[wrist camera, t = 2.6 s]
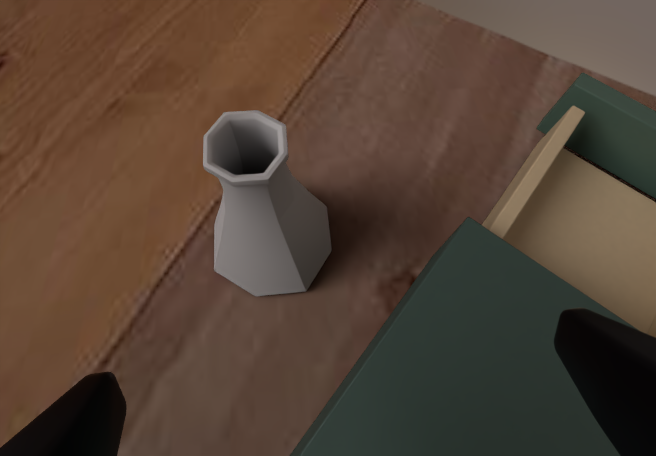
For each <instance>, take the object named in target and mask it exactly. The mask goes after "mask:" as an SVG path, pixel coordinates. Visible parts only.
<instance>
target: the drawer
mask: <svg viewBox="0 0 656 456" xmlns="http://www.w3.org/2000/svg"><path fill="white" fill-rule="evenodd" d="M537 129H538V130H539V131H541V132H543V133H544V134H546V135H545V136H544V137H543V138H542V139H541V140H540V141H539V143H538V144H537V145H536V147H535V148H534V150H533V151H532V152H531V154H530V155H529V157H528V158H527V160H526V161H525V163H524V164H523V166H522V167H521V169H520V170H519V171H518V173H517V174H516V176H515V177H514V179H513V180H512V182H511V183H510V185H509V186H508V187H507V189H506V190H505V192H504V193H503V195H502V196H501V198H500V199H499V201H498V202H497V203H496V205H495V206H494V208H493V209H492V211H491V212H490V214H489V215H488V217H487V218H486V220H485V221H484V222H483V224H482V226H483V227H485V228H486V229H488V230H489V231H491V232H492V233H494V234H495V235H497V236H498V237H500V238H501V239H503V240H504V241H506V242H507V243H509V244H510V245H512V246H513V247H515V248H516V249H518V250H519V251H521V252H522V253H524V254H525V255H527V256H528V257H530V258H531V259H533V260H534V261H536V262H537V263H539V264H540V265H542V266H543V267H545V268H546V269H548V270H549V271H551V272H552V273H554V274H555V275H557V276H558V277H560V278H561V279H563V280H564V281H566V282H567V283H569V284H570V285H572V286H573V287H575V288H576V289H578V290H579V291H581V292H582V293H584V294H585V295H587V296H588V297H590V298H591V299H593V300H594V301H596V302H597V303H599V304H600V305H602V306H603V307H605V308H606V309H608V310H609V311H611V312H612V313H614V314H615V315H617V316H618V317H620V318H621V319H623V320H624V321H626V322H627V323H629V324H630V325H632V326H633V327H635V328H636V329H638V330H639V331H641V332H644V333H646V334H648V335H651V336H653V337H656V202H654V201H652V200H651V199H649V198H647V197H646V196H644V195H642V194H641V193H639V192H637V191H635V190H634V189H632V188H630V187H629V186H627V185H625V184H624V183H622V182H620V181H618V180H617V179H615V178H613V177H612V176H610V175H608V174H607V173H605V172H603V171H601V170H600V169H598V168H596V167H595V166H593V165H591V164H590V163H588V162H586V161H584V160H583V159H581V158H579V157H578V156H576V155H574V154H573V153H571V152H569V151H567V150H566V149H564V148H563V147H564V145H565V146H566V147H568V148H570V149H572V150H573V151H575V152H577V153H578V154H580V155H582V156H584V157H585V158H587V159H589V160H590V161H592V162H594V163H595V164H597V165H599V166H601V167H602V168H604V169H606V170H607V171H609V172H611V173H613V174H614V175H616V176H618V177H619V178H621V179H623V180H624V181H626V182H628V183H630V184H631V185H633V186H635V187H636V188H638V189H640V190H641V191H643V192H645V193H647V194H648V195H650V196H652V197H653V198H655V199H656V111H654V110H652V109H650V108H648V107H646V106H645V105H643V104H641V103H639V102H637V101H635V100H633V99H632V98H630V97H628V96H626V95H624V94H622V93H620V92H619V91H617V90H615V89H613V88H611V87H609V86H607V85H605V84H604V83H602V82H600V81H598V80H596V79H594V78H592V77H591V76H589V75H587V74H585V73H581V74H580V76H579V77H578V78H577V79H576V80H575V81H574V83H573V84H572V85H571V86H570V87H569V89H568V90H567V91H566V92H565V93H564V94H563V96H562V97H561V98H560V99H559V100H558V101H557V103H556V104H555V105H554V106H553V107H552V108H551V110H550V111H549V112H548V113H547V114H546V116H545V117H544V118H543V119H542V121H541V122H540V124H539V125H538V126H537Z"/></svg>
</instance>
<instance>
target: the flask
mask: <svg viewBox="0 0 656 456" xmlns="http://www.w3.org/2000/svg"><path fill="white" fill-rule="evenodd" d="M287 160H288V145H287V132H286V125H285V124H283V123H281V122H279V121H277V120H275V119H273V118H271V117H270V116H268V115H266V114H264V113H262V112H260V111H258V110H254V111H239V112H224V113H223V115H222V116H221V117H220V118H219V119H218V120H217V121H216V123H215V124H214V125H213V126H212V127H211V128H210V129H209V131H208V132H207V133H206V134H205V135H204V147H203V166H204V169H205V170H206V171H207V172H209V173H211V174H213V175H214V176H216V177H218V178H219V180H220V183H221V185H222V187H223V197H222V201H221V206H220V209H219V212H218V215H217V217H216V221H215V225H214V271H216V272H217V273H219V274H220V275H222V276H224V277H225V278H227V279H228V280H230V281H232V282H233V283H235V284H236V285H238V286H240V287H241V288H243V289H244V290H246V291H248V292H249V293H251V294H252V295H254V296H264V295H274V294H285V293H295V292H305V291H307V289H308V288H309V286H310V284H311V283H312V281H313V280H314V278H315V277H316V275H317V273H318V272H319V270H320V269H321V267H322V265H323V264H324V262H325V261H326V259H327V257H328V256H329V254H330V253H331V251H332V248H331V239H330V230H329V222H328V213H327V207H326V206H325V205H324V204H323V203H322V202H321V201H320V200H318V199H317V198H316V197H315V196H314V195H312V194H311V193H310V192H309V191H308V190H307V189H306V188H305V187H304V186H303V185H302V184H301V183H300V182H298V181H297V180H296V179H295V178H294V177H293V176H292V174H291V172H290V170H289V168H288V166H287V164H286V161H287Z"/></svg>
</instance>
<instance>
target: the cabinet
mask: <svg viewBox="0 0 656 456" xmlns="http://www.w3.org/2000/svg"><path fill="white" fill-rule="evenodd" d="M573 308H586V309H589V310H591V311H594V312H596V313H598V314H601V315H603V316H605V317H608V318H610V319H613V320H615V321H617V322H620V323H622V324H625V325H627V326H629V327H632V328H634V329H636V328H635V327H633V326H632V325H630V324H629V323H627V322H626V321H624V320H623V319H621V318H620V317H618V316H617V315H615V314H614V313H612V312H611V311H609V310H608V309H606V308H605V307H603V306H602V305H600V304H599V303H597V302H596V301H594V300H593V299H591V298H590V297H588V296H587V295H585V294H584V293H582V292H581V291H579V290H578V289H576V288H575V287H573V286H572V285H570V284H569V283H567V282H566V281H564V280H563V279H561V278H560V277H558V276H557V275H555V274H554V273H552V272H551V271H549V270H548V269H546V268H545V267H543V266H542V265H540V264H539V263H537V262H536V261H534V260H533V259H531V258H530V257H528V256H527V255H525V254H524V253H522V252H521V251H519V250H518V249H516V248H515V247H513V246H512V245H510V244H509V243H507V242H506V241H504V240H503V239H501V238H500V237H498V236H497V235H495V234H494V233H492V232H491V231H489V230H488V229H486V228H485V227H483V226H482V225H480V224H479V223H477V222H476V221H474V220H473V219H471V218H470V217H468V218H467V219H466V220H465V221H464V222H463V223H462V224H461V225H460V226H459V227H458V229H457V230H456V231H455V232H454V233H453V234H452V235H451V236H450V237H449V238H448V240H447V241H446V242H445V243H444V244H443V245H442V246H441V247H440V248H439V250H438V251H437V252H436V253H435V254H434V255H433V256H432V258H431V259H430V260H429V262H428V263H427V265H426V266H425V267H424V269H423V270H422V272H421V273H420V274H419V276H418V277H417V279H416V280H415V281H414V283H413V284H412V286H411V287H410V288H409V290H408V291H407V293H406V294H405V295H404V297H403V298H402V299H401V301H400V302H399V304H398V305H397V306H396V308H395V309H394V311H393V312H392V313H391V315H390V316H389V318H388V319H387V320H386V322H385V323H384V325H383V326H382V327H381V329H380V330H379V332H378V333H377V334H376V336H375V337H374V339H373V340H372V341H371V343H370V344H369V346H368V347H367V348H366V350H365V351H364V353H363V354H362V355H361V357H360V358H359V360H358V361H357V362H356V364H355V365H354V367H353V368H352V369H351V371H350V372H349V374H348V375H347V376H346V378H345V379H344V380H343V382H342V383H341V385H340V386H339V387H338V389H337V390H336V392H335V393H334V394H333V396H332V397H331V399H330V400H329V401H328V403H327V404H326V406H325V407H324V408H323V410H322V411H321V413H320V414H319V415H318V417H317V418H316V420H315V421H314V422H313V424H312V425H311V427H310V428H309V429H308V431H307V432H306V434H305V435H304V436H303V438H302V439H301V441H300V442H299V443H298V445H297V446H296V448H295V449H294V450H293V452H292V453H291V455H290V456H620V454H619V453H618V451H617V450H616V449H615V447H614V446H613V444H612V443H611V442H610V440H609V439H608V437H607V436H606V434H605V433H604V431H603V430H602V428H601V427H600V426H599V424H598V423H597V421H596V419H595V418H594V416H593V415H592V413H591V411H590V410H589V408H588V406H587V404H586V403H585V401H584V399H583V398H582V396H581V394H580V392H579V391H578V389H577V387H576V385H575V384H574V382H573V380H572V378H571V377H570V375H569V373H568V372H567V370H566V368H565V366H564V365H563V363H562V361H561V359H560V358H559V356H558V354H557V352H556V350H555V347H554V336H555V332H556V328H557V324H558V320H559V316H560V314H561V313H562V311H564V310H566V309H573ZM636 330H638V329H636Z"/></svg>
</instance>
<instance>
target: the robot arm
mask: <svg viewBox="0 0 656 456" xmlns="http://www.w3.org/2000/svg"><path fill="white" fill-rule="evenodd" d="M554 347H555V350H556V352H557V354H558V356H559V358H560V359H561V361H562V363H563V365H564V366H565V368H566V370H567V372H568V373H569V375H570V377H571V378H572V380H573V382H574V384H575V385H576V387H577V389H578V391H579V392H580V394H581V396H582V398H583V399H584V401H585V403H586V404H587V406H588V408H589V410H590V411H591V413H592V415H593V416H594V418H595V419H596V421H597V423H598V424H599V426H600V427H601V428H602V430H603V431H604V433H605V434H606V436H607V437H608V439H609V440H610V442H611V443H612V444H613V446H614V447H615V449H616V450H617V451H618V453H619V454H620V456H656V337H653V336H651V335H648V334H646V333H644V332H641V331H639V330H636V329H634V328H632V327H629V326H627V325H625V324H622V323H620V322H617V321H615V320H613V319H610V318H608V317H605V316H603V315H601V314H598V313H596V312H594V311H591V310H589V309H586V308H573V309H566V310H564V311H562V313H561V314H560V316H559V320H558V324H557V328H556V332H555V336H554ZM125 416H126V401H125V398H124V396H123V394H122V391H121V389H120V387H119V384H118V382H117V380H116V377H115V376H114V374H113V373H111V372H102V373H94V374H90V375H87V376H85V377H84V378H83V379H82V380H80V381H79V382H78V383H77V384H76V385H74V386H73V387H72V388H71V389H70V390H69V391H67V392H66V393H65V394H64V395H63V396H61V397H60V398H59V399H58V400H57V401H55V402H54V403H53V404H52V405H51V406H49V407H48V408H47V409H46V410H45V411H44V412H42V413H41V414H40V415H39V416H38V417H36V418H35V419H34V420H33V421H32V422H30V423H29V424H28V425H27V426H26V427H24V428H23V429H22V430H21V431H20V432H19V433H17V434H16V435H15V436H14V437H13V438H11V439H10V440H9V441H8V442H7V443H5V444H4V445H3V446H2V447H1V448H0V456H117V453H118V449H119V444H120V439H121V435H122V430H123V426H124V421H125Z"/></svg>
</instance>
